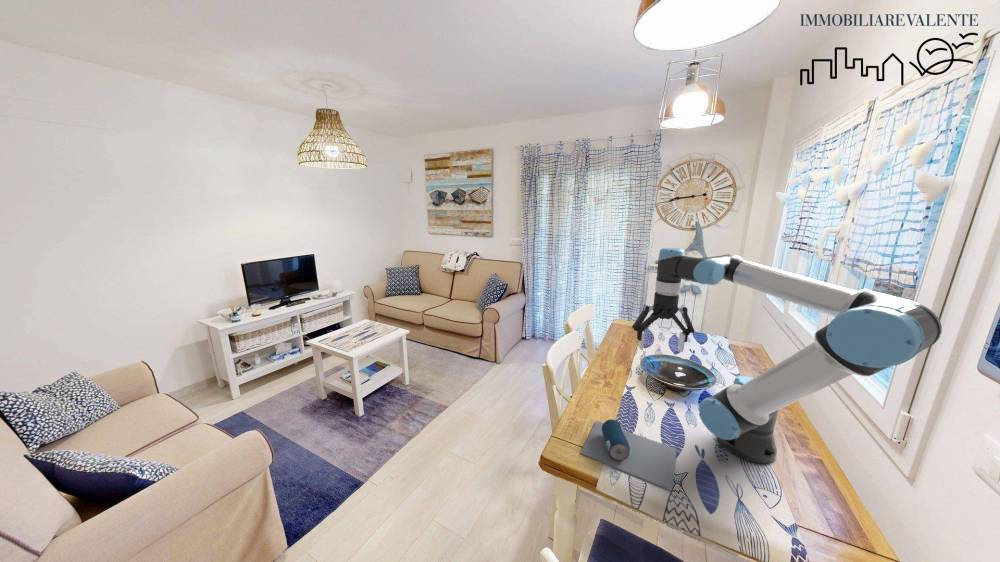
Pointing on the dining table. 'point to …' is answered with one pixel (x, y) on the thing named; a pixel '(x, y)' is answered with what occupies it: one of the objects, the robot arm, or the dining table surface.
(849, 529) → the dining table surface
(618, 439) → the soda can
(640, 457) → the mat
